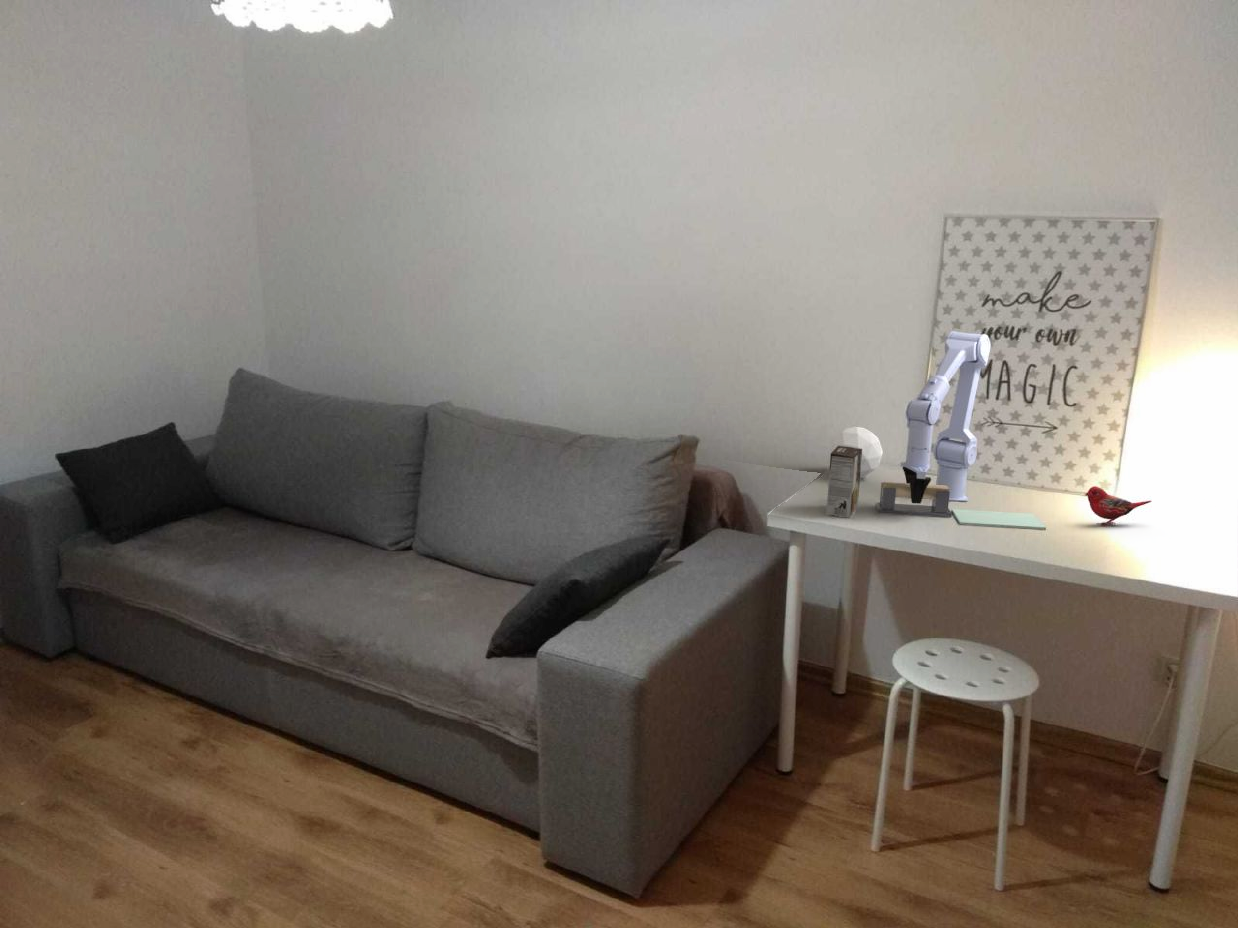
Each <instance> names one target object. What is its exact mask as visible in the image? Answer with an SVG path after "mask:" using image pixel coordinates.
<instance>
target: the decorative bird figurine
mask: <svg viewBox="0 0 1238 928" xmlns="http://www.w3.org/2000/svg"><path fill="white" fill-rule="evenodd" d="M1084 496H1087V499H1088V502H1089V507H1090V509H1091V511H1092V512H1093V513H1094V514H1095V515H1096V516H1097V517H1099V518H1102V519H1104V520H1108V521H1105V522H1104V521H1103V522H1100V523H1099V522H1096V523H1095V524H1096V525H1101V526H1107V525H1109V526H1112V525H1116V523H1115V522H1114V521H1115V520H1117V519H1119V518H1122V517H1123V516H1126V515H1128V514H1130V513H1131V512H1132V511H1133V510H1135V509H1136V508H1139V507H1141V506H1143V505H1144V506H1145V505H1146V504H1150V503H1151V502H1152V500H1145V501H1144V500H1143V501H1138V502H1131V501H1129V500H1126V499H1123V498H1121V497H1117V496H1113V495H1110V494H1108V493H1107V492H1106V491H1105V490H1104V489H1103V488H1101V487H1098V486H1091V487H1090V488H1089V489H1088V491H1087V492H1086V493H1085V494H1084Z"/></svg>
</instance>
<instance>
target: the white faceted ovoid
mask: <svg viewBox="0 0 1238 928" xmlns="http://www.w3.org/2000/svg"><path fill="white" fill-rule="evenodd" d="M881 444H882V443H881V441H880V439H879V437H878V436H877V435H875V434H874V433H873V432H872V431H870V430H868V429H867V428H865V427H861V426H852V427H846V428H845V429H843V430H842V431H840V432H839V433H837V434H836V435H834V436H833V438H832V441H831V444H830V447H829V451H828V455H829V458H830V457H831V453H832V452H833V451H834V450H835V449H836V447H837V446H846V447H853V448H858V449H862V458H861V471H860V479H862V478H863V479H864V478H866V477H867V476H869V475H871V474H872V473H873V472H874V471H876V470H877V469H878V468H879V466H880V463H881V460H882V457H883V454H884V451H883V448H882V445H881Z"/></svg>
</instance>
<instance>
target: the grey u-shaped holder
mask: <svg viewBox="0 0 1238 928" xmlns="http://www.w3.org/2000/svg"><path fill="white" fill-rule="evenodd" d="M881 490H882V482H881V486H880V491H881ZM949 495H950V492H949V491H939V490H937V493H936V500H934V499H931V500H932V501H931V505H925V504H924V505H921V504H908V503H907V504H905V503H896V497H895V496H896V488H886V487H884V488H883V496H882V494H881V493H880V495H879V502H874V503H875V504H874V506H875V509H876V511H877V512H876V513H877V514H890V515H901V516H903V515H905V516H919V517H920V516H922V517H936V518H937V517H938V518H952V516H953V513H952V510H950V509H949V502H950V500H949Z"/></svg>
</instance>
